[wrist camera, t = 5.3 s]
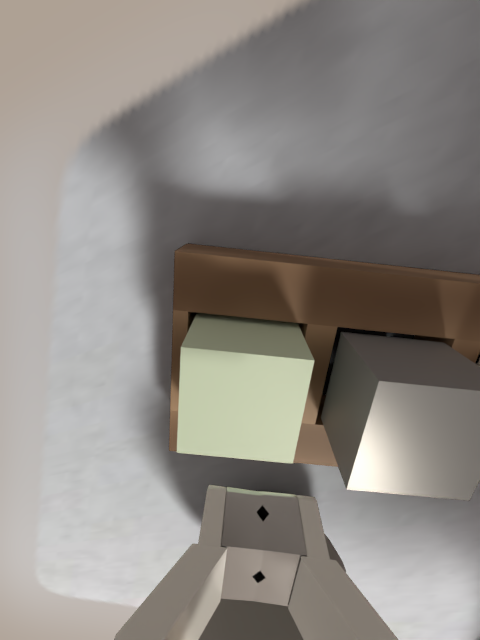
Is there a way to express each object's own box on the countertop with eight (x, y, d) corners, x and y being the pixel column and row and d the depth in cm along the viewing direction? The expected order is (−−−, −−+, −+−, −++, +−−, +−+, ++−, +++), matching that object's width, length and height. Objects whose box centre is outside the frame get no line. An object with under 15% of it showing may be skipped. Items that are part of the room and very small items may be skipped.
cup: (194, 480, 22) (156, 687, 12) (326, 468, 21) (392, 677, 12) (215, 567, 25) (197, 784, 16) (330, 559, 24) (384, 780, 15)
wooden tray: (496, 446, 20) (536, 485, 17) (179, 416, 20) (169, 450, 17) (576, 285, 16) (645, 301, 14) (187, 243, 16) (174, 251, 13)
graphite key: (412, 427, 16) (469, 500, 12) (320, 418, 16) (346, 489, 12) (444, 342, 15) (522, 395, 10) (341, 331, 15) (379, 380, 10)
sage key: (281, 402, 17) (292, 463, 13) (193, 393, 17) (176, 452, 13) (296, 320, 15) (314, 360, 11) (198, 309, 15) (180, 347, 11)
